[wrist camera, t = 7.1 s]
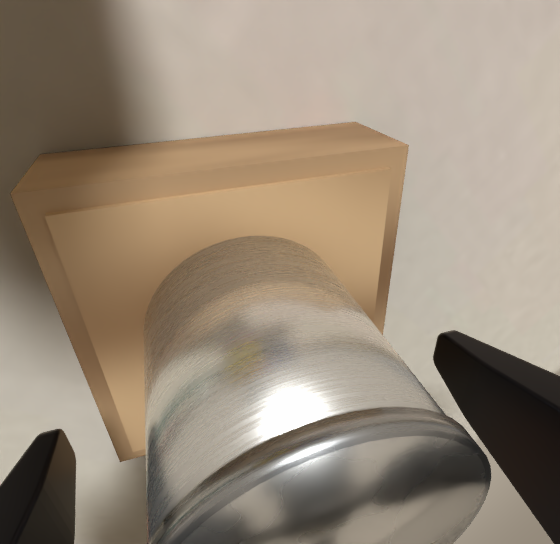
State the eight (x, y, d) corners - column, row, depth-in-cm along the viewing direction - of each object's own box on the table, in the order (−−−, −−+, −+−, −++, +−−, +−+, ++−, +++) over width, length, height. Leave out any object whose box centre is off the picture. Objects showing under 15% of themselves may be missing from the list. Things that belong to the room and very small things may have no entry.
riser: (341, 339, 17) (376, 394, 15) (122, 392, 15) (120, 466, 13) (355, 121, 12) (412, 146, 10) (39, 154, 10) (7, 196, 8)
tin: (338, 374, 13) (452, 572, 9) (162, 419, 12) (178, 685, 7) (348, 215, 10) (536, 385, 6) (114, 253, 9) (85, 521, 4)
